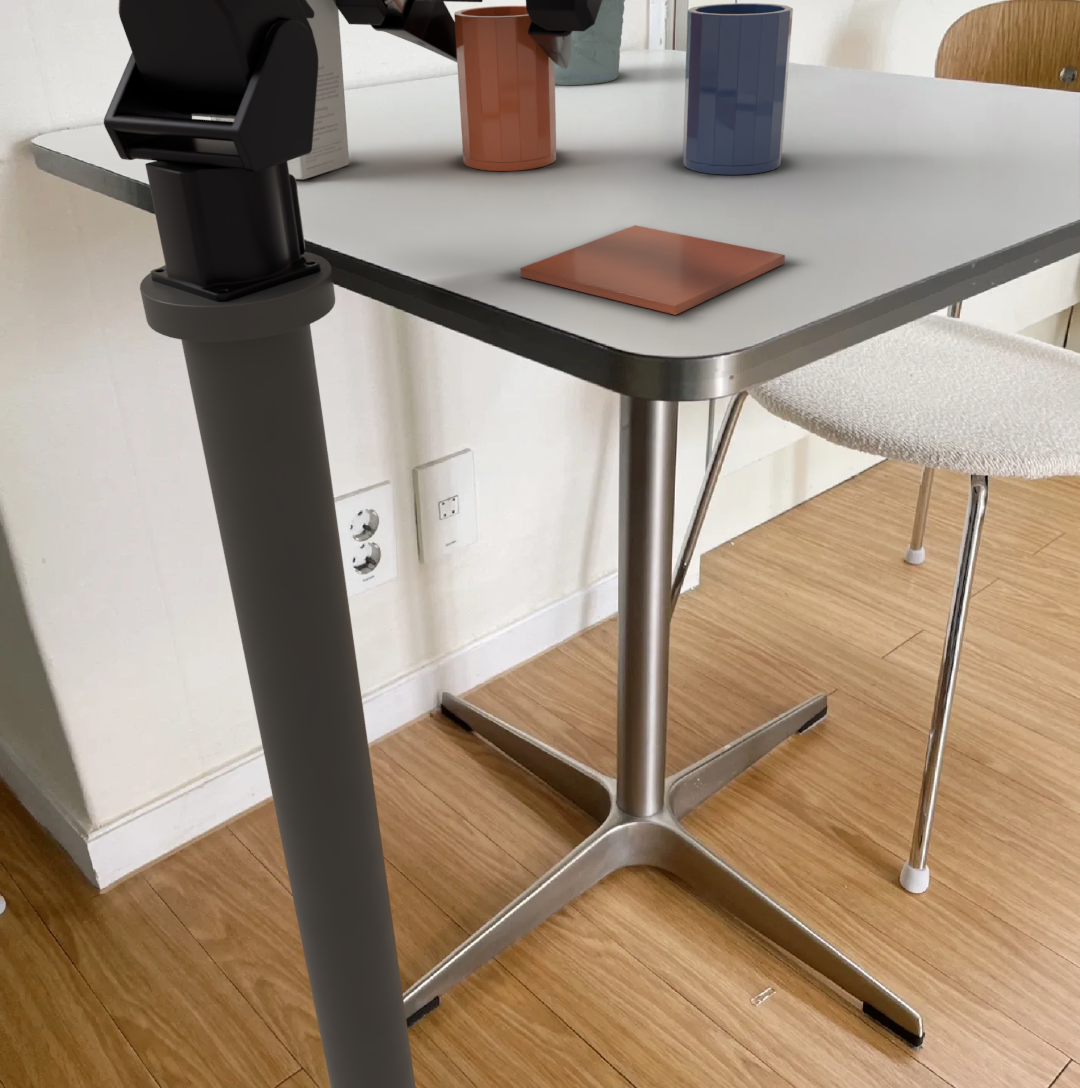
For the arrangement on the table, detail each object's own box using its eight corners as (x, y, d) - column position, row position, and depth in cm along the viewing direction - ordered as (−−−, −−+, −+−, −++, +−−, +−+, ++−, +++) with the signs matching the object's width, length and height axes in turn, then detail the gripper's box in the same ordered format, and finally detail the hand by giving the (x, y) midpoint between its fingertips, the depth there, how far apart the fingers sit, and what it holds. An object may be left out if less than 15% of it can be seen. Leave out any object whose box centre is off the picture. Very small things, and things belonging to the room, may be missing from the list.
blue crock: (746, 179, 77) (756, 17, 72) (664, 166, 81) (668, 11, 76) (798, 160, 82) (811, 6, 76) (717, 149, 85) (725, 1, 80)
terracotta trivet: (675, 315, 55) (676, 305, 55) (520, 277, 61) (519, 267, 60) (784, 263, 61) (785, 254, 61) (634, 233, 67) (634, 224, 67)
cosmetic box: (216, 172, 84) (177, -57, 76) (269, 155, 88) (237, -64, 81) (308, 182, 80) (277, -58, 73) (359, 164, 85) (334, -64, 77)
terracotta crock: (512, 175, 80) (506, 19, 75) (444, 163, 84) (433, 14, 79) (574, 157, 84) (572, 8, 79) (506, 146, 88) (500, 4, 83)
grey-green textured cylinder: (523, 72, 119) (519, -58, 113) (620, 67, 120) (620, -62, 114) (532, 88, 110) (528, -52, 104) (636, 83, 111) (638, -56, 105)
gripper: (605, -234, 66) (668, -35, 80) (335, -215, 73) (436, -36, 87) (548, -69, 64) (623, 105, 78) (277, -67, 71) (390, 91, 85)
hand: (514, 60), depth 82 cm, fingers open, 8 cm apart
